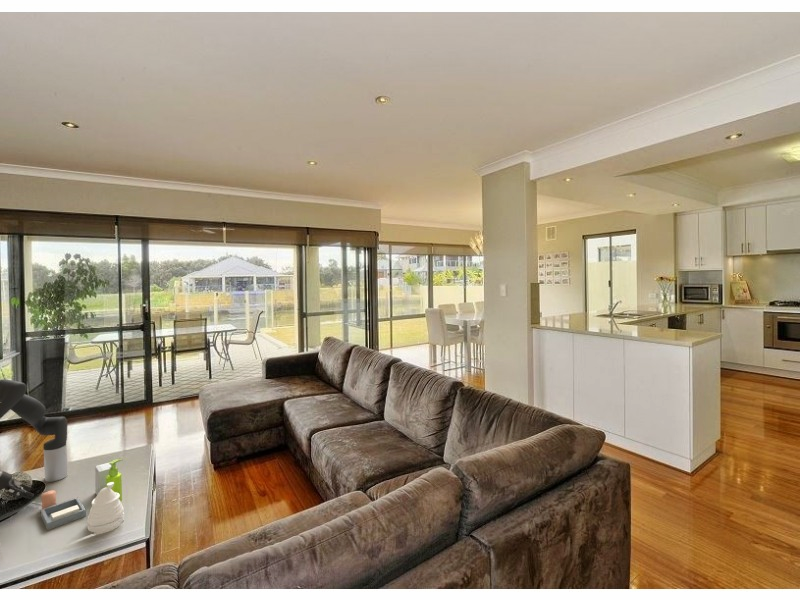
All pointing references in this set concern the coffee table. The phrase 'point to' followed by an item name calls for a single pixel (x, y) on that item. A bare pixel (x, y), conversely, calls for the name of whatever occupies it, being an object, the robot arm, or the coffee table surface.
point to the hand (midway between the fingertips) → (31, 493)
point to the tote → (65, 519)
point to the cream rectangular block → (64, 512)
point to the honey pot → (105, 511)
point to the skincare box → (101, 476)
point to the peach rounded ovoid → (48, 499)
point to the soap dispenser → (115, 478)
